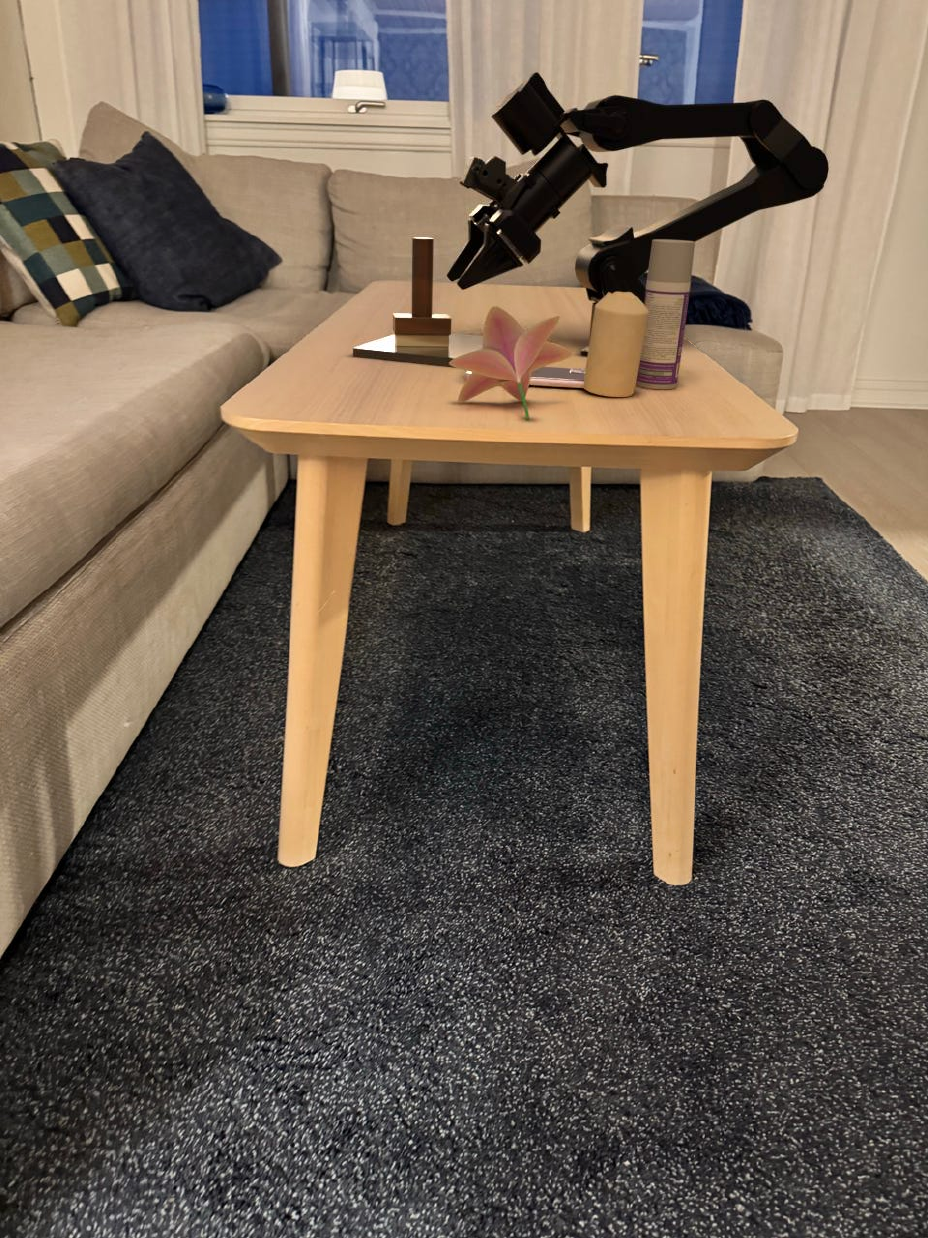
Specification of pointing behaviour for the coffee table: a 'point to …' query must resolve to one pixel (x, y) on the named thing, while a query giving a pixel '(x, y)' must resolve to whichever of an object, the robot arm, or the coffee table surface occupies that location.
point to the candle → (615, 345)
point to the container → (665, 312)
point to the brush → (422, 304)
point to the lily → (508, 356)
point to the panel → (420, 350)
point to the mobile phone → (555, 377)
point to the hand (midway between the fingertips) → (454, 282)
